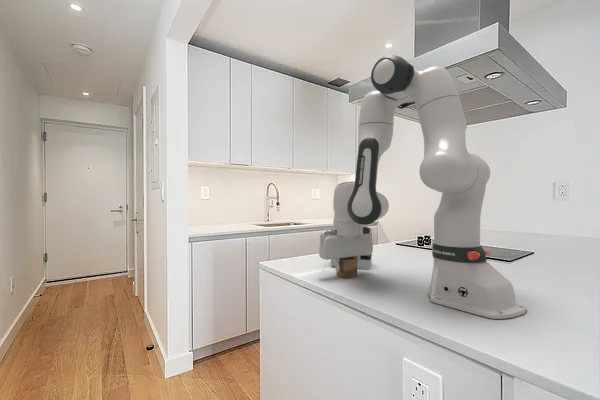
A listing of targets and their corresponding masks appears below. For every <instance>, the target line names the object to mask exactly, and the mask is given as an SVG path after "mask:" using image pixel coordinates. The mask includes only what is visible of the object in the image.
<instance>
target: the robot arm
mask: <svg viewBox="0 0 600 400" xmlns="http://www.w3.org/2000/svg"><path fill="white" fill-rule="evenodd" d="M370 80H371V84H372V86H373V87H374V88H375V90H372V91H369V92H368V93H366V94H365V95H364V97H362V101H361V105H360V110H359V118H358V130H357V132H358V133H357V134H358V135H357V139H358V140H357V141H358V142H357V143H358V145H357V148H358V149H357V156H356V157H357V158H356V167H355V178H354V181H353V180H352V181H345V182H342V183H339V184H337V185H336V186H335V188H334V190H333V191H334V192H333V199H332V200H333V202H332V203H333V204H332V205H333V212H334V213H333V214H334V216H333V228H332V229H334V230H333V231H331V230H324V231H323V232H321V234H320V236H319V247H318V248H319V251H318V256H319V257H320V259H322V260H325V261H328V260H331V259H333V262H334V264H335V266H336V267H335V271H336V272H337V271H338V272H339V271H342V266H340V265H339V263H338V262H339V261H340V258H345V257H354V258H355V259H357V269H359V268H358V263H359V261H360V256H362V255H370V254H371V253H372V254H373V253H374V242H373V240H374V239H373V235H372V236H371V235H370V234H371V233H372V234H373V228H372V227H370V226H367V225H371V224H373V223H374V222H376V221H379V220H380V219H382V218H383V217H384V216H386V215H387V213H388V211H389V207H390V206H389V201H388V199H387V197H386V196H385V195H384V194H383V193H381V192H379V191H377V181H378V168H379V164H380V163H379V162H380V160H381V157H382V156H383V154H385V152H387V151H388V149H390V148H391V147H390V146H391V144H392V140H393V136H394V124H395V123H394V122H395V121H394V120H395V111H396V110H397V108H398V109H401V110H402V109H405V108H407V107H409V106H412V105H413V106H414V105H415V108H416V113H417V116H418V119H419V120H418V121H419V124H420V128H421V131H422V136H423V137H422V138H423V159H422V161H421V163H420V166H419V169H418V170H419V172H418V173H419V176H420V180H421V182H422V183H423V184H424V185H425V186H426V187H427V188H430V189H431V190H433V191H436V192H439V193H441V197H440V198H441V199H440V201H439V205H438V207H437V209H436V211H435V213H434V216H433V243H432V245H431V246H432V247H431V250H432V251H431V252H432V253H431V254H432V258H433V263H432V265H433V266H432V274H431V280H430V283H429V284H430V285H429V288H428V291H427V295H428V296H429V297H430V298H429V301H430V302H431V303H432V304H433V303H434V304H437V305H441V306H445V307H448V308H452V309H456V310H459V311H463V312H466V313H470V314H473V315H477V316H480V317H483V318H488V319H494V320H498V319H499V320H502V319H504V320H505V319H511V318H515V317H519V316H522V315H524V314H525V313H526V312H527V305H526V304H525V303H523V302H519V301H517V300H516V295H515V290H514V287H513V283H512V282H511V281H510V280H509V279H508V278H507V277H505V276H504V275H503V274H502V273H501V272H499V270H497V269H496V268H495V267H494V266H492V264H491V263H489V262H488V261H487V260H488V259H487V256H491V252H492V251H491V250H484V248H483V247H482V245H481V217H482V216H481V215H482V207H483V202H484V198H485V194H486V188H487V187H486V186H487V183H488V182H489V180H490V178H491V168H490V166H489V165H488V163H487V162H486V161H485V160H484V159H483V158H482V157H481V156H478V155H476V154H474V153H469V152H468V150H467V143H466V131H467V128H468V123H467V120H466V119H467V118H466V116H465V113H464V108H463V105H462V102H461V97H460V96H459V95H460V94H459V92H458V90H457V86H456V84H455V82H454V80H453V78H452V77H451V74H450V72H449V71H448V70H447V69H446V68H445V67H442V66H439V65H434V66H429V67H427V68H425V69H423V70H420V69H419V68H418V67H417V66H416V65H415V64H414V63H412V62H410V61H409V60H406V59H405V58H404V57H401V56H399V55H395V54H388V55H385V56H384V55H383V56H382V57H381V58H379V59H378V60H377V61H376V62H375V64H374V65H373V67H372V69H371V72H370ZM371 228H372V229H371Z"/></svg>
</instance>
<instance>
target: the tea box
mask: <svg viewBox="0 0 600 400" xmlns="http://www.w3.org/2000/svg"><path fill="white" fill-rule="evenodd" d="M370 228H371V229H372V230H373V228H372V227H370ZM333 230H334V228H331V230H330V231H333ZM370 235H371V236H372V237H373V232H372V233H371V234H370ZM372 254H373V252H372V253H371V254H370V255H362V256H360V261H359V263H358V268H357V269H359V270H361V269H362V270H370V268H371V265H372V257H373V255H372ZM351 258H354V257H351ZM332 267H334V268H336V266H335V264H334V262H333V259H330V268H332Z"/></svg>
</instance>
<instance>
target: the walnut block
mask: <svg viewBox="0 0 600 400" xmlns="http://www.w3.org/2000/svg"><path fill="white" fill-rule="evenodd" d="M338 263H339V265H340V266H342V271H339V272H338V271H336V276H337V277H340V278H342V279H344V280H345V279H353V278H357V277H358V268H357V259H355V258H351V257H345V258H340V261H339V262H338Z"/></svg>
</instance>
